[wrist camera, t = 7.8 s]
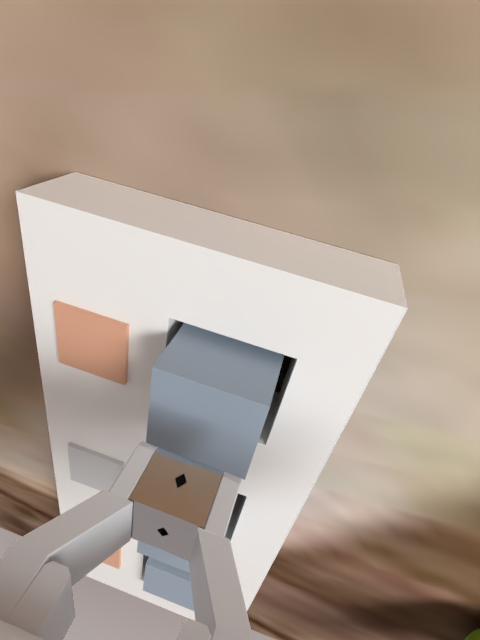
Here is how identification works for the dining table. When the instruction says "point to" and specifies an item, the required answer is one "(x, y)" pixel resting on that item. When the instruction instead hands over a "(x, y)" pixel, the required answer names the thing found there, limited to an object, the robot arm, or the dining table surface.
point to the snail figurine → (474, 635)
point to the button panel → (204, 312)
